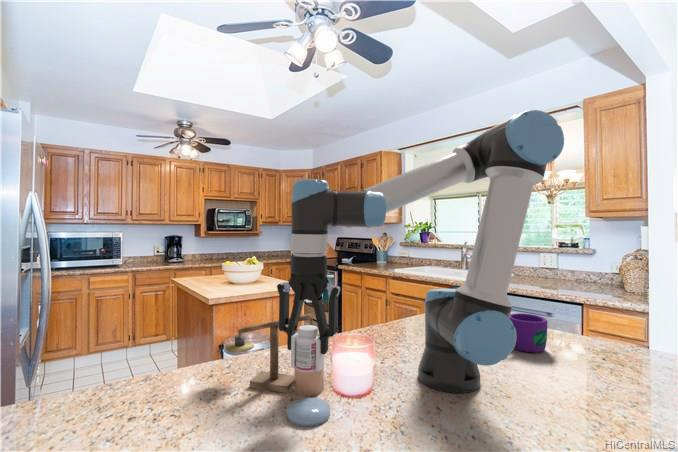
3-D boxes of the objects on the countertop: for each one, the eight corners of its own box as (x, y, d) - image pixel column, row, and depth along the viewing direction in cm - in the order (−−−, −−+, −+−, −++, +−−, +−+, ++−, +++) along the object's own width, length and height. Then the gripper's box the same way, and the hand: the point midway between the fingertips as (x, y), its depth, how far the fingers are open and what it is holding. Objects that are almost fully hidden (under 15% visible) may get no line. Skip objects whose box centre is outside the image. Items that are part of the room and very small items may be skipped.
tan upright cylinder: (327, 385, 86) (327, 352, 86) (317, 398, 80) (318, 363, 80) (301, 381, 88) (301, 349, 88) (289, 393, 82) (289, 359, 82)
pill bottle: (315, 374, 70) (315, 331, 70) (292, 371, 71) (293, 330, 71) (321, 365, 75) (321, 325, 75) (299, 362, 76) (300, 323, 76)
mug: (526, 341, 120) (526, 311, 120) (556, 352, 109) (556, 320, 109) (484, 346, 115) (484, 315, 115) (512, 359, 104) (512, 325, 104)
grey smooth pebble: (335, 406, 76) (335, 401, 76) (321, 429, 67) (321, 423, 67) (297, 400, 78) (297, 395, 78) (278, 422, 70) (278, 416, 70)
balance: (329, 386, 86) (330, 311, 86) (320, 399, 79) (320, 319, 79) (235, 372, 93) (235, 304, 93) (219, 383, 86) (219, 310, 87)
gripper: (355, 255, 74) (353, 365, 74) (278, 252, 79) (276, 355, 79) (345, 257, 67) (343, 380, 67) (261, 254, 72) (259, 368, 72)
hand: (307, 366), depth 73 cm, fingers closed on pill bottle, 5 cm apart
